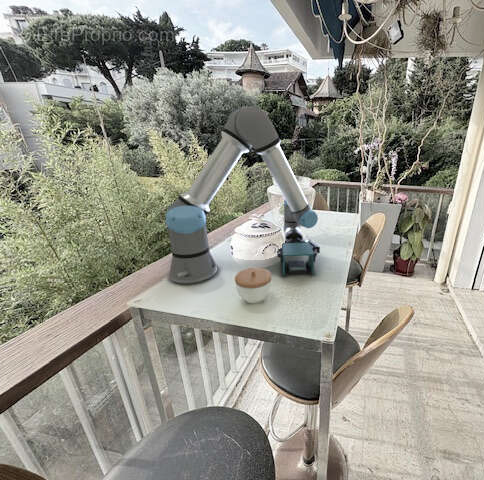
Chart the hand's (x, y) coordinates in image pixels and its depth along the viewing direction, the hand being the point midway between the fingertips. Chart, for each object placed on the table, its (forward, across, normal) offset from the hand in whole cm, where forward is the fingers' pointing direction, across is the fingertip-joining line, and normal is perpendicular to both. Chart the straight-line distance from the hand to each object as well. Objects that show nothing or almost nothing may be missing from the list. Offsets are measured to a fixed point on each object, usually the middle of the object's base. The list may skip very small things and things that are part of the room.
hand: (298, 259), depth 95 cm
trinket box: (+14, +15, -6) cm, 21 cm away
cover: (-4, 0, -6) cm, 7 cm away
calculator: (-4, 0, -6) cm, 7 cm away
